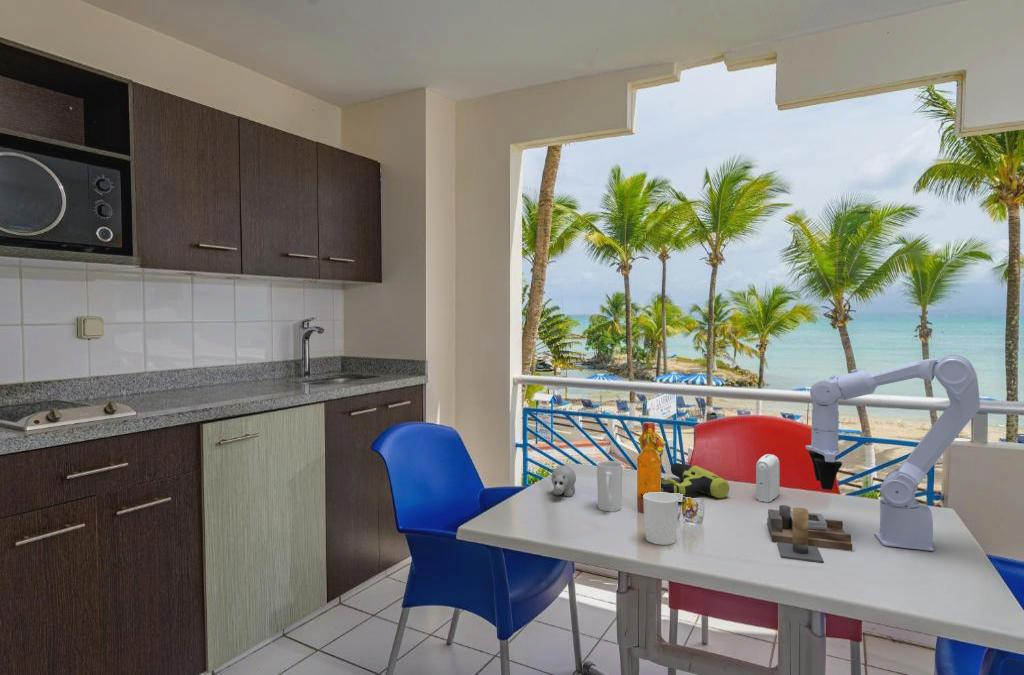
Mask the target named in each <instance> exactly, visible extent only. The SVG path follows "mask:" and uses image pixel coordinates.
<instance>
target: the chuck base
mask: <svg viewBox="0 0 1024 675" xmlns="http://www.w3.org/2000/svg"><path fill="white" fill-rule="evenodd" d="M778 506H779V507H778V509H772V508H771V509H767V514H768V515H767V519H766V520H767V521H766V522H767V523H766V524H767V529H768V532H769V536H770V539H771V542H773V543H777V542H781V543H790V544H793V533H792V531H791V528H790V520H791V511H792V509H791V506H789V505H786V504H780V505H778ZM824 519H825V518H824ZM825 521H826V523H827V531H820V530H810V529H808V546H816V547H817V548H825V549H832V550H833V549H834V550H840V551H841V550H843V551H849V552H850V551H851V552H853V543H852V534H851V533H847V532H845V530H844V529H843V528H844V522H843V521H842V520H835V519H825Z"/></svg>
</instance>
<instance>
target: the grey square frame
mask: <svg viewBox="0 0 1024 675" xmlns="http://www.w3.org/2000/svg"><path fill="white" fill-rule="evenodd" d="M790 528H791V531H792V533H793V510H791V520H790ZM808 529H810V530H820V531H827V523H826V521H825V518H824V516H823V514H822V513H815V512H808Z"/></svg>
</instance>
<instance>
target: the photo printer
mask: <svg viewBox="0 0 1024 675" xmlns="http://www.w3.org/2000/svg"><path fill="white" fill-rule="evenodd" d="M779 495H780V460H779V458H778V457H777V456H776V455H774V454H770V453H768V454H764V455H763V456H761V457H760V458H759V459H758V460H757V462H756V465H755V499H756V500H757V499H758V500H760V501H766V502H767V503H770V502H772V501H774V500H775V499H776V498H777V497H779ZM773 499H774V500H773ZM758 500H757V501H758ZM760 501H759V502H760Z"/></svg>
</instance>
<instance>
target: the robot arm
mask: <svg viewBox="0 0 1024 675" xmlns="http://www.w3.org/2000/svg"><path fill="white" fill-rule="evenodd" d="M911 379H912V380H913V379H922V380H926V381H933V380H934V379H936V380H937V381H938V382H939V384H940V385H941V386H942V387H943V388H944V390H945V391H946V395H947V397H948V400H949V402H950V403H949V404H948V406H947V407H946V409H944V411H943V412H942V413H941V415H940V416H939V417H938V418H937V419H936V421H935V422H934V423H933V425H932V426H931V427H930V429H929V430H928V431H927V433H926V434H925V435H924V436H923V437H922V439H920V441H919V442H918V444H917V445H916V446H915V447H914V448H913V450H912V452H911V453H910V454H909V455H908V457H906V459H905V460H904V461H903V462H902V463H901V464H900V465H899V467H898V468H896V469H894V470H891V471H890V472H888V473H887V474H886V475H885V478H884V480H883V482H882V483H881V484H880V487H879V488H880V494H881V497H880V498H879V500H880V501H879V531H874V532H873V533H874V535H875V536H876V538H877V539H878V540H879V542H880V543H881V544H882V546H885V547H893V548H903V549H910V550H911V549H912V550H918V551H919V550H921V551H929V552H930V551H931V552H934V551H935V550H934V544H933V543H934V539H933V538H934V520H933V513H932V510H931V508H930V507H929V506H927V505H925V504H924V505H923V504H920V502H919V501H917V499H916V497H915V496H916V493H917V491H918V488H919V485H920V484H921V482H922V481H923V480H924V478H925V477H926V475H927V474H928V473H929V471H930V470H931V469H932V467H933V466H934V465H935V464H936V463H937V462H938V460H939V459H940V458H941V457H942V456H943V454H944V453H945V452H946V450H947V449H948V448H949V447H950V446H951V444H953V442H954V441H955V439H956V438H957V437H958V436H959V435H960V433H961V432H962V431H963V430H964V428H965V427H967V425H968V424H969V423H970V421H971V420H972V419H973V418H974V416H975V415H976V414H977V412H979V410H980V408H981V401H980V400H981V398H980V392H979V379H978V374H977V372H976V369H975V368H974V366H973V364H972V363H971V361H970V360H968V358H966V357H963V356H961V355H956V354H951V355H947V356H944V357H943V358H941V357H933V358H926V359H918V360H916V361H912V362H908V363H905V364H901V365H898V366H894V367H891V368H887V369H884V370H880V371H877V372H870V371H867V370H866V369H860V370H859V369H858V368H856V369H855V368H854V369H852V370H850V373H846V374H845V373H844V374H841V375H838V376H835V374H834V375H829V379H822V380H818V381H817V382H815V383H813V385H812V386H811V387H810V389H809V394H810V398H811V399H812V409H811V443H810V445H807V444H806V445H805V449H806V450H808V454H809V457H810V458H811V461H812V466H813V471H814V476H815V479H816V481H819V482H820V487H821V489H822V490H825V491H826V490H828V491H833V488H834V485H835V481H836V477H837V474H838V472H839V470H840V469H841V467H842V466H843V462H842V461H838V460H836V455H838V454H839V453H840V448H839V424H840V423H839V422H840V421H839V419H840V418H839V417H840V411H839V400H842V401H845V400H850V399H855V398H858V397H863V396H867V395H871V394H874V393H875V391H876V389H877V387H879V386H884V385H888V384H892V383H893V384H894V383H897V382H903V381H906V380H907V381H908V380H911Z"/></svg>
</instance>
